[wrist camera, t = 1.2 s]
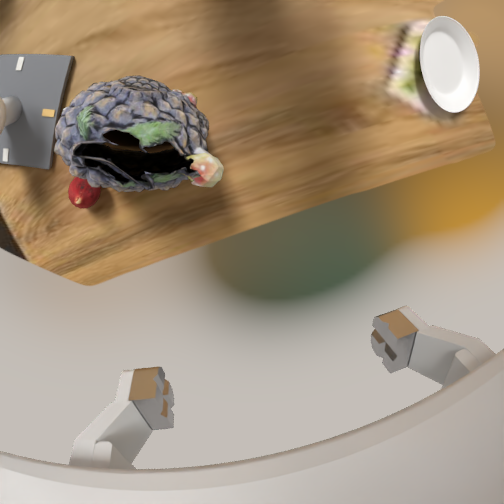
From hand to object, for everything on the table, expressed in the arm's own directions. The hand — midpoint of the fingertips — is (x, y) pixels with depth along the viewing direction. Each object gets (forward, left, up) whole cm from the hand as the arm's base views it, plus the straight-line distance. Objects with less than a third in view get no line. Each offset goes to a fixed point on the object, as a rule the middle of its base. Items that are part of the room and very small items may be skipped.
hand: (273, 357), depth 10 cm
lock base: (+1, -33, -45) cm, 56 cm away
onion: (+13, -15, -45) cm, 49 cm away
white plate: (-39, +48, -45) cm, 76 cm away
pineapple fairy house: (0, -8, -45) cm, 46 cm away
